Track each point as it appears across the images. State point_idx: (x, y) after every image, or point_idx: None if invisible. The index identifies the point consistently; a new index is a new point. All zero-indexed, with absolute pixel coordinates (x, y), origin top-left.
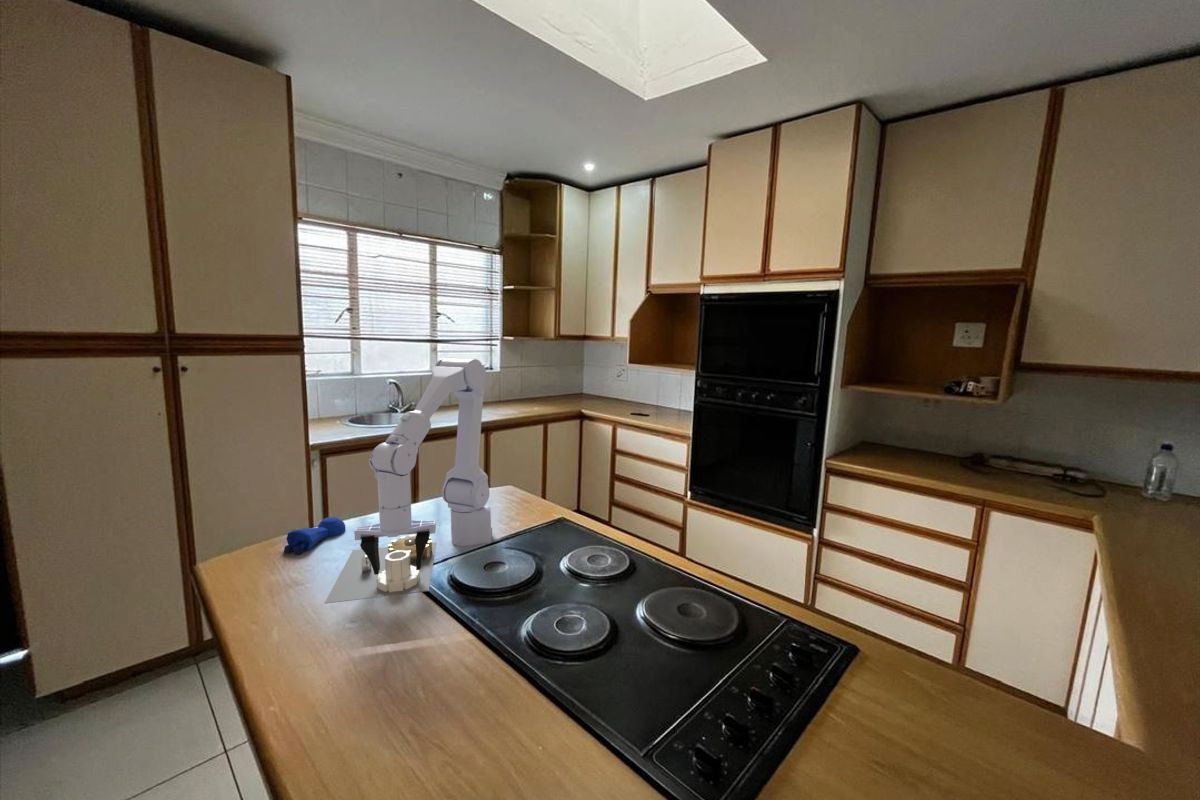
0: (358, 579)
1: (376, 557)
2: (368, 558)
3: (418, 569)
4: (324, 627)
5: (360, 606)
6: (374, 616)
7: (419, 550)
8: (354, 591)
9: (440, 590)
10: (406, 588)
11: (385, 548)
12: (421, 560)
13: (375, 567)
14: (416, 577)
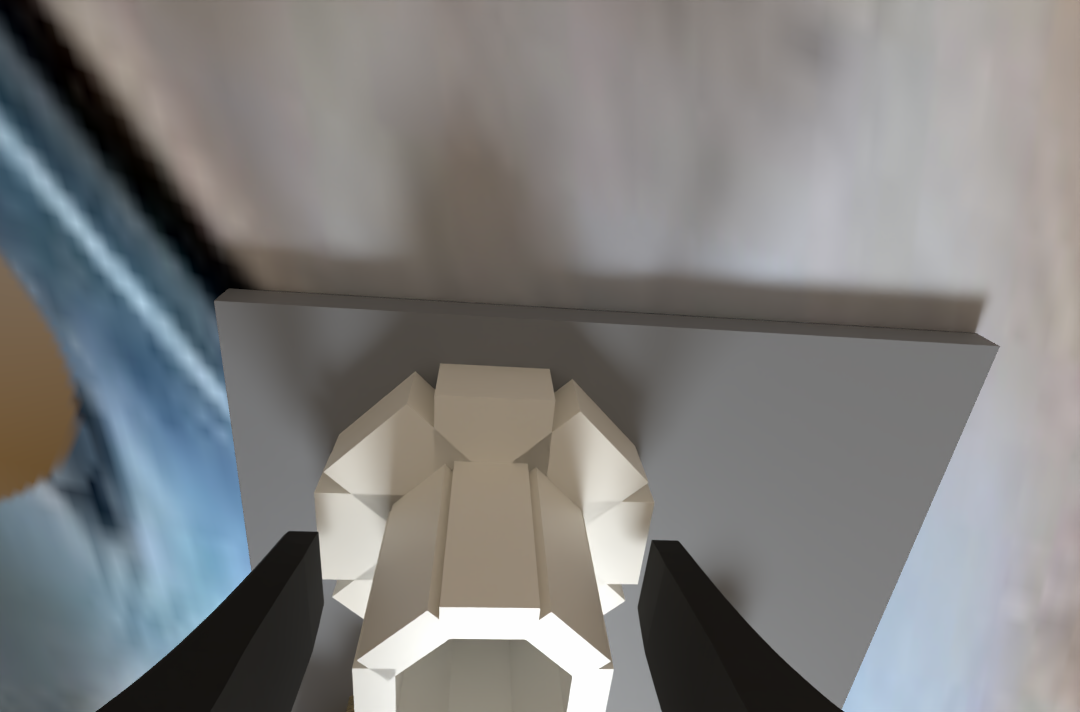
0: (759, 584)
1: (702, 690)
2: (795, 672)
3: (296, 532)
4: (1022, 30)
5: (749, 270)
6: (648, 71)
7: (164, 703)
8: (793, 445)
9: (141, 328)
10: (412, 376)
11: None
12: (350, 709)
13: (690, 582)
14: (327, 466)
